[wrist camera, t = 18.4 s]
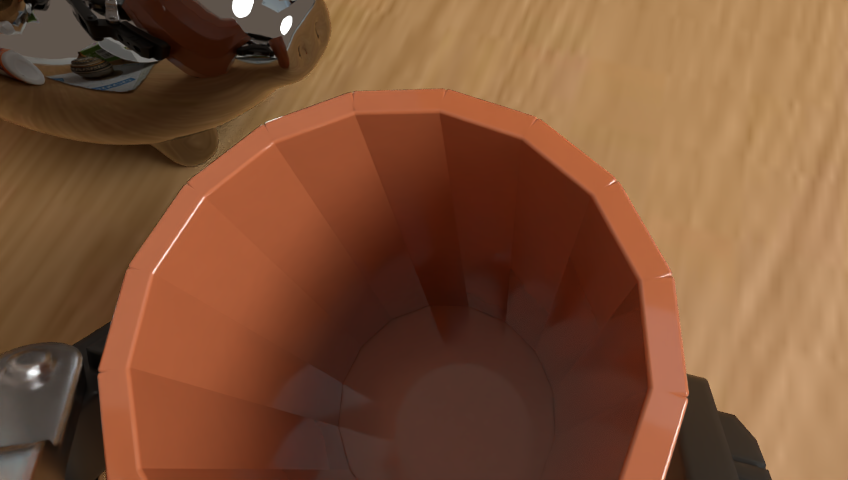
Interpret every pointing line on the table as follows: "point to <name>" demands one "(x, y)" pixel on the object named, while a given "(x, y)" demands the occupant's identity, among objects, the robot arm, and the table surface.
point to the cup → (396, 308)
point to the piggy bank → (151, 66)
